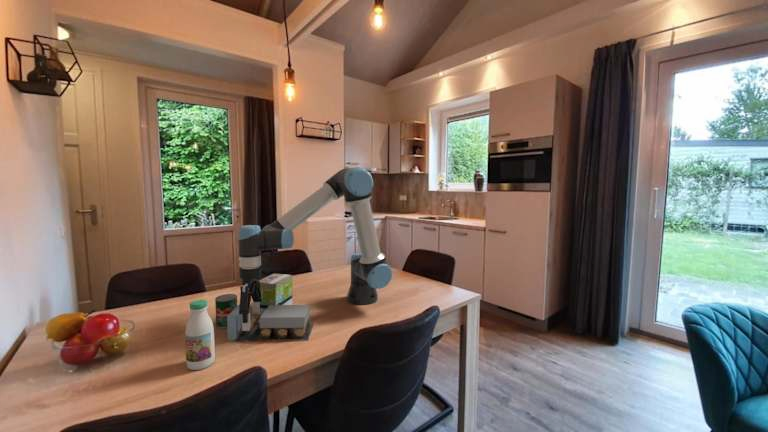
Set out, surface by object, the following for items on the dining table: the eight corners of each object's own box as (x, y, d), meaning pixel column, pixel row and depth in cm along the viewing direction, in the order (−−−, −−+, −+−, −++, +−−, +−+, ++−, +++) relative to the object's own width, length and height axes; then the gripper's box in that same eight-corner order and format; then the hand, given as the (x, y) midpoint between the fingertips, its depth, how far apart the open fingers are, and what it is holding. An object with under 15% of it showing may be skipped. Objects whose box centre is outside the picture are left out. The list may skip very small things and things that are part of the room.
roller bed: (314, 322, 132) (314, 313, 131) (308, 340, 117) (308, 330, 116) (249, 323, 130) (249, 314, 130) (234, 341, 115) (234, 331, 115)
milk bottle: (194, 357, 104) (191, 297, 102) (219, 357, 105) (217, 297, 103) (181, 371, 96) (178, 306, 94) (208, 370, 97) (205, 306, 95)
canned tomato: (215, 329, 124) (214, 302, 123) (215, 321, 131) (215, 295, 130) (238, 326, 127) (237, 299, 126) (237, 318, 134) (236, 292, 133)
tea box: (276, 318, 136) (275, 283, 134) (254, 315, 138) (253, 281, 136) (293, 305, 150) (292, 274, 149) (273, 303, 152) (273, 272, 151)
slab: (310, 314, 130) (310, 304, 129) (304, 327, 118) (304, 317, 117) (269, 314, 129) (269, 305, 128) (259, 328, 117) (259, 317, 116)
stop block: (250, 323, 130) (249, 301, 129) (236, 340, 116) (235, 316, 115) (242, 323, 129) (241, 301, 128) (227, 340, 115) (227, 316, 115)
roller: (251, 318, 127) (254, 311, 127) (259, 321, 128) (262, 314, 127) (242, 330, 117) (245, 322, 117) (250, 333, 118) (254, 325, 118)
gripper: (250, 259, 131) (251, 312, 133) (227, 275, 109) (228, 338, 111) (269, 259, 132) (270, 312, 134) (249, 275, 109) (251, 338, 112)
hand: (251, 324), depth 122 cm, fingers closed on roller, 10 cm apart
